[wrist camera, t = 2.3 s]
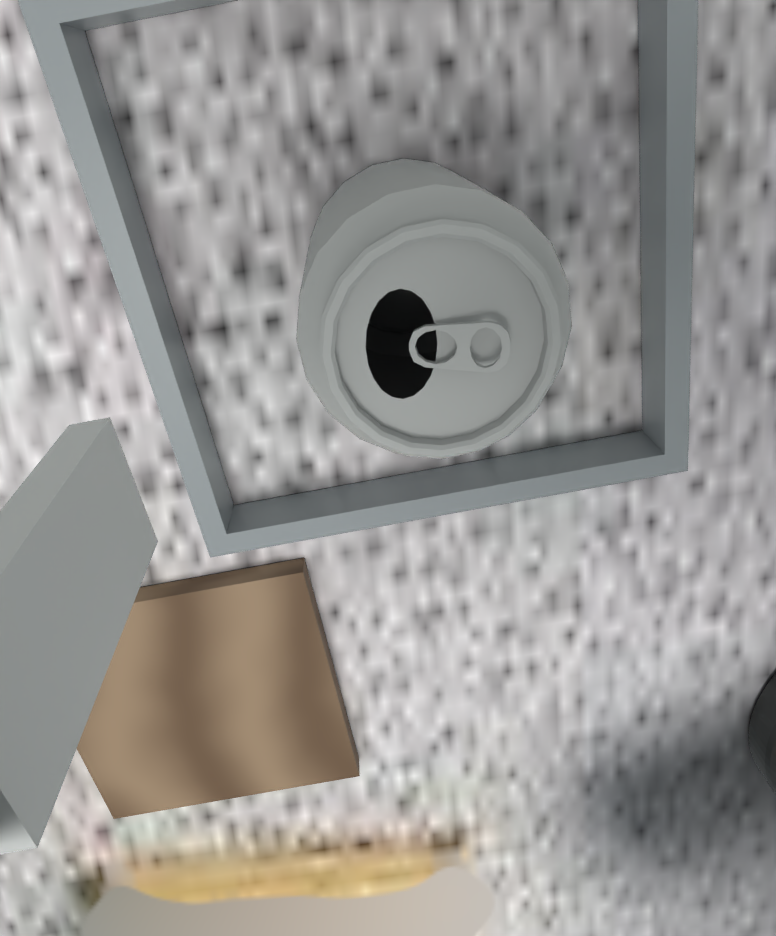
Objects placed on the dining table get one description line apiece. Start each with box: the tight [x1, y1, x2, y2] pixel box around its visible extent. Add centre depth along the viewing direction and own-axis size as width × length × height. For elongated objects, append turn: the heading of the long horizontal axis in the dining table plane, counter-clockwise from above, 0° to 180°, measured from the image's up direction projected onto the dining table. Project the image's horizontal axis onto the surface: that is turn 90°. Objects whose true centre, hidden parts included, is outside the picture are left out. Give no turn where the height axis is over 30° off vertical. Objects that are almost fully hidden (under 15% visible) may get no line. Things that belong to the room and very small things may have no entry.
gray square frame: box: [18, 0, 698, 557], centre depth 27 cm, size 21×21×2 cm
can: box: [296, 159, 572, 459], centre depth 23 cm, size 8×8×12 cm
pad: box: [77, 558, 359, 819], centre depth 37 cm, size 14×14×1 cm
